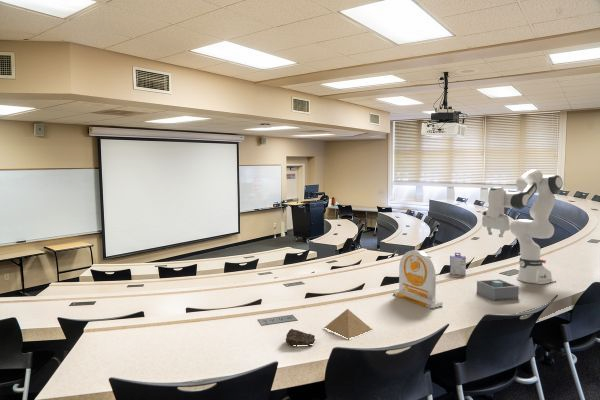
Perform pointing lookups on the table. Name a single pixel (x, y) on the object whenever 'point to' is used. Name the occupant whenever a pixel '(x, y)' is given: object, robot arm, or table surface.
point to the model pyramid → (348, 325)
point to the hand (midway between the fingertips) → (495, 236)
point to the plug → (497, 284)
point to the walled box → (497, 290)
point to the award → (417, 279)
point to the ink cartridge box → (458, 264)
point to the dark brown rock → (299, 338)
